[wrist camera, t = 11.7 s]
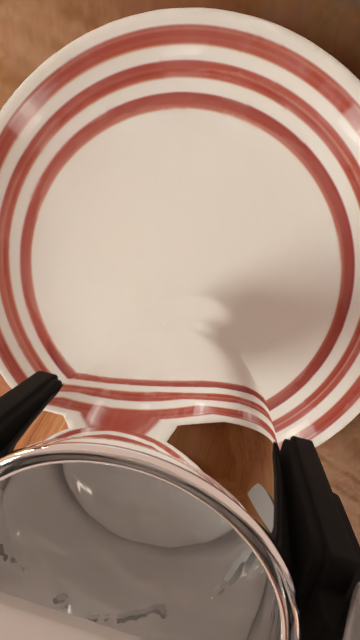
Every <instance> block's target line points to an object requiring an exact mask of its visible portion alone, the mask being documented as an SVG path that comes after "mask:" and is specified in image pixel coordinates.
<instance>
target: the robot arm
mask: <svg viewBox="0 0 360 640" xmlns="http://www.w3.org/2000/svg"><path fill="white" fill-rule="evenodd" d="M61 385H62V381H61V380H58V376H57V375H56V374H52V373H48V372H44V371H37V372H36V373H34V374H33V375H32V376H30V377H29V378H27V379H26V380H24V381H23V382H21V383H20V384H19V385H17V386H16V387H14V388H13V389H11V390H10V391H9V392H7V393H6V394H4V395H3V396H1V397H0V450H1V449H2V448H3V447H4V446H5V445H6V444H7V442H8V441H9V440H10V439H11V438H12V437H13V436H14V434H15V433H16V432H17V431H18V430H19V429H20V428H21V427H22V425H23V424H24V423H25V422H26V421H27V420H28V419H29V418H30V417H31V416H32V415H33V414H34V413H35V411H36V410H37V409H38V408H39V407H40V406H41V405H42V404H43V403H44V402H45V401H46V400H47V399H48V398H49V397H50V396H51V395H52V394H53V393H54V392H55V391H56V390H57V389H58V388H59V387H60V386H61ZM280 456H281V462H282V467H283V473H284V479H285V485H286V494H287V503H288V512H289V522H290V532H291V544H292V556H293V567H294V577H295V586H296V591H297V595H298V599H299V603H300V608H301V616H302V640H360V546H359V544H358V541H357V539H356V537H355V534H354V532H353V529H352V527H351V524H350V522H349V519H348V517H347V515H346V512H345V510H344V507H343V505H342V502H341V500H340V498H339V496H338V495H337V494H335V493H333V492H332V490H331V487H330V485H329V482H328V480H327V477H326V474H325V472H324V469H323V467H322V464H321V462H320V459H319V457H318V454H317V451H316V449H315V446H314V444H313V442H312V441H311V440H308V439H304V438H300V437H296V436H292V437H291V438H290V440H289V439H284V441H283V443H282V446H281V449H280ZM0 640H148V639H145V638H141V637H138V636H135V635H132V634H129V633H126V632H123V631H120V630H117V629H114V628H111V627H108V626H105V625H102V624H99V623H96V622H93V621H90V620H87V619H84V618H81V617H78V616H74V615H71V614H68V613H65V612H62V611H59V610H56V609H53V608H50V607H47V606H44V605H41V604H38V603H35V602H32V601H28V600H25V599H22V598H19V597H16V596H13V595H10V594H7V593H4V592H1V591H0Z"/></svg>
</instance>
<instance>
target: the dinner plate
mask: <svg viewBox="0 0 360 640" xmlns="http://www.w3.org/2000/svg"><path fill="white" fill-rule="evenodd" d="M186 296H203V297H208V298H211V299H214V300H217V301H219V302H221V303H222V304H224V305H225V306H227V307H228V308H229V309H230V310H232V311H233V312H234V314H235V315H236V316H237V317H238V319H239V320H240V322H241V323H242V325H243V328H244V330H245V333H246V337H247V357H246V361H245V364H246V366H247V367H248V369H249V370H250V372H251V373H252V375H253V377H254V379H255V380H256V382H257V385H258V387H259V389H260V391H261V393H262V395H263V397H264V399H265V401H266V404H267V406H268V409H269V412H270V416H271V419H272V423H273V426H274V430H275V433H276V437H277V440H278V445H279V450H280V449H281V446H282V443H283V441H284V439H289V440H290V438H291V437H292V436H296V437H300V438H304V439H308V440H311V441H312V442H313V444H314V446H315V448H316V447H318V446H319V445H321V444H323V443H324V442H325V441H327V440H328V439H330V438H331V437H332V436H334V435H335V434H337V433H338V432H339V431H340V430H341V429H343V428H344V427H345V426H346V425H347V424H349V423H350V422H351V421H352V420H353V419H354V418H355V417H356V416H357V415H358V414H359V413H360V80H359V79H358V78H357V77H356V76H355V75H354V74H353V73H352V72H351V71H350V70H349V69H347V68H346V67H345V66H344V65H343V64H341V63H340V62H339V61H338V60H337V59H335V58H334V57H333V56H331V55H330V54H328V53H327V52H326V51H324V50H323V49H321V48H320V47H319V46H317V45H316V44H314V43H313V42H311V41H309V40H307V39H306V38H304V37H302V36H300V35H298V34H297V33H295V32H293V31H291V30H289V29H286V28H284V27H282V26H280V25H277V24H275V23H272V22H270V21H267V20H264V19H261V18H258V17H254V16H250V15H246V14H241V13H237V12H233V11H226V10H220V9H213V8H199V7H198V8H171V9H160V10H155V11H149V12H145V13H141V14H137V15H133V16H129V17H125V18H122V19H119V20H116V21H113V22H110V23H108V24H106V25H104V26H101V27H99V28H97V29H95V30H93V31H91V32H88V33H86V34H85V35H83V36H81V37H79V38H77V39H76V40H74V41H72V42H71V43H69V44H68V45H66V46H65V47H63V48H62V49H61V50H59V51H58V52H56V53H55V54H54V55H52V56H51V57H49V58H48V59H47V60H46V61H45V62H44V63H43V64H41V65H40V66H39V67H38V68H37V69H36V70H35V71H34V72H33V73H32V74H31V75H30V76H28V77H27V78H26V79H25V80H24V81H23V83H22V84H21V85H20V86H19V87H18V88H17V90H16V91H15V92H14V93H13V95H12V96H11V97H10V98H9V100H8V101H7V102H6V104H5V105H4V106H3V108H2V110H1V111H0V373H1V375H2V376H3V378H4V379H5V381H6V382H7V384H8V385H9V386H10V387H11V389H13V388H14V387H16V386H17V385H19V384H20V383H21V382H23V381H24V380H26V379H27V378H29V377H30V376H32V375H33V374H34V373H36V372H37V371H44V372H48V373H52V374H56V375H57V376H58V380H61V381H62V384H63V383H64V382H65V381H66V380H67V379H68V378H69V377H70V376H72V375H73V374H74V373H75V372H76V371H77V370H78V369H80V368H81V367H82V366H84V365H85V364H86V363H87V362H89V361H90V360H91V359H93V358H94V357H95V356H96V355H98V354H99V353H101V352H102V351H103V350H105V349H107V348H108V347H110V346H112V345H114V344H116V343H118V342H120V341H121V340H123V339H125V338H127V337H129V336H131V335H134V334H136V333H139V332H142V331H144V330H147V328H148V326H149V324H150V322H151V320H152V318H153V317H154V315H155V314H156V313H157V312H158V311H159V310H160V309H161V308H162V307H163V306H164V305H166V304H167V303H169V302H171V301H173V300H175V299H178V298H181V297H186Z"/></svg>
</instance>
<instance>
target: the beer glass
mask: <svg viewBox="0 0 360 640" xmlns="http://www.w3.org/2000/svg"><path fill="white" fill-rule="evenodd" d="M246 357H247V337H246V333H245V330H244V328H243V325H242V323H241V322H240V320H239V319H238V317H237V316H236V315H235V314H234V312H233V311H232V310H230V309H229V308H228V307H227V306H225V305H224V304H222V303H221V302H219V301H217V300H214V299H211V298H208V297H203V296H186V297H181V298H178V299H175V300H173V301H171V302H169V303H167V304H166V305H164V306H163V307H162V308H161V309H160V310H159V311H158V312H157V313H156V314H155V315H154V317H153V318H152V320H151V322H150V324H149V326H148V328H147V330H144V331H142V332H139V333H136V334H134V335H131V336H129V337H127V338H125V339H123V340H121V341H120V342H118V343H116V344H114V345H112V346H110V347H108V348H107V349H105V350H103V351H102V352H101V353H99V354H98V355H96V356H95V357H94V358H93V359H91V360H90V361H89V362H87V363H86V364H85V365H84V366H82V367H81V368H80V369H78V370H77V371H76V372H75V373H74V374H73V375H72V376H70V377H69V378H68V379H67V380H66V381H65V382H64V383H63V384H62V385H61V386H60V387H59V388H58V389H57V390H56V391H55V392H54V393H53V394H52V395H51V396H50V397H49V398H48V399H47V400H46V401H45V402H44V403H43V404H42V405H41V406H40V407H39V408H38V409H37V410H36V411H35V413H34V414H33V415H32V416H31V417H30V418H29V419H28V420H27V421H26V422H25V423H24V424H23V425H22V427H21V428H20V429H19V430H18V431H17V432H16V433H15V434H14V436H13V437H12V438H11V439H10V440H9V441H8V442H7V444H6V445H5V446H4V447H3V448H2V449H1V450H0V591H1V592H4V593H7V594H10V595H13V596H16V597H19V598H22V599H25V600H28V601H32V602H35V603H38V604H41V605H44V606H47V607H50V608H53V609H56V610H59V611H62V612H65V613H68V614H71V615H74V616H78V617H81V618H84V619H87V620H90V621H93V622H96V623H99V624H102V625H105V626H108V627H111V628H114V629H117V630H120V631H123V632H126V633H129V634H132V635H135V636H138V637H141V638H145V639H148V640H302V616H301V608H300V603H299V599H298V595H297V591H296V586H295V577H294V567H293V556H292V544H291V532H290V522H289V512H288V503H287V494H286V485H285V479H284V473H283V467H282V462H281V456H280V450H279V445H278V440H277V437H276V433H275V430H274V426H273V423H272V419H271V416H270V412H269V409H268V406H267V404H266V401H265V399H264V397H263V395H262V393H261V391H260V389H259V387H258V385H257V382H256V380H255V379H254V377H253V375H252V373H251V372H250V370H249V369H248V367H247V366H246V364H245V361H246Z"/></svg>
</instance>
